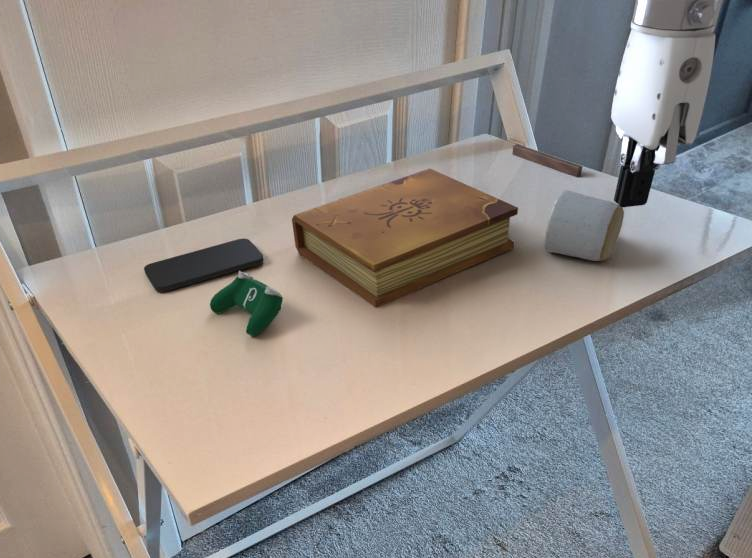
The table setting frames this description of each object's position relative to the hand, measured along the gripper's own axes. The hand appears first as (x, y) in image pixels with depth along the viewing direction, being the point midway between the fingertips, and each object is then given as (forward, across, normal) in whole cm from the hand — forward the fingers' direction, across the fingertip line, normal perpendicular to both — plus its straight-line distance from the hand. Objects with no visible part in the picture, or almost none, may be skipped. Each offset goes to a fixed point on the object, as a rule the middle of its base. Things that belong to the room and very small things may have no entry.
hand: (629, 203), depth 76 cm
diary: (+11, +16, +22) cm, 29 cm away
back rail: (+10, +39, -7) cm, 41 cm away
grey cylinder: (+11, +10, 0) cm, 15 cm away
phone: (+11, +19, +49) cm, 54 cm away
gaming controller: (+11, +5, +44) cm, 45 cm away
